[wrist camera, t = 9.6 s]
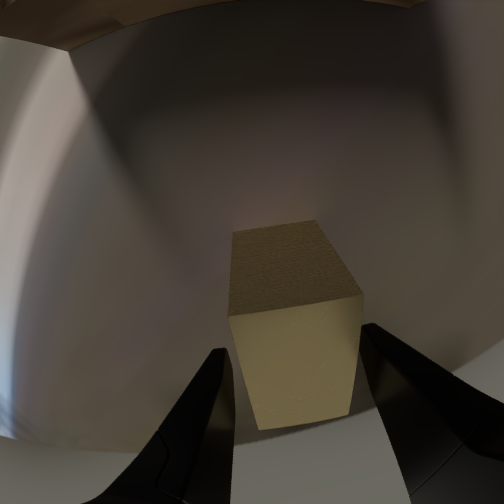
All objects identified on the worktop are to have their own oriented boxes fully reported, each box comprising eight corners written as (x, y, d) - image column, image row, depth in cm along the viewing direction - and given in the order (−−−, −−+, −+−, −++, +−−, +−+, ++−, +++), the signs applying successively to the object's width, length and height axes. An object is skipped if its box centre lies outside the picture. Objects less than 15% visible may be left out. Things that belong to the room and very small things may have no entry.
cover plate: (379, 95, 9) (486, 90, 4) (371, 358, 15) (407, 440, 10) (125, 129, 10) (26, 149, 4) (204, 385, 16) (196, 475, 10)
